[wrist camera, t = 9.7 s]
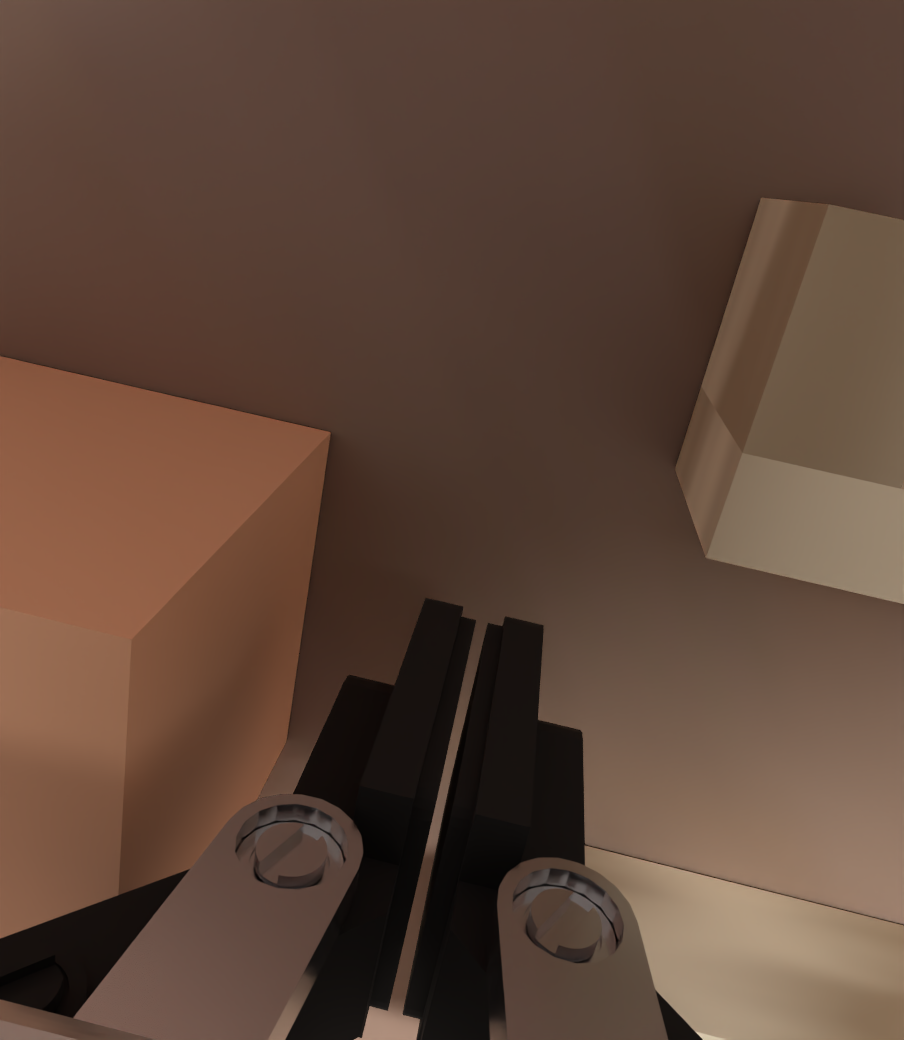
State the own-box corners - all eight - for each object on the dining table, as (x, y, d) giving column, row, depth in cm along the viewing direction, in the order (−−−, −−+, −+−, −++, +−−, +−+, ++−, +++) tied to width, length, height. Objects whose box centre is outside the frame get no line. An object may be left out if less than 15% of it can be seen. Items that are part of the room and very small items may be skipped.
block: (330, 432, 12) (130, 639, 7) (286, 741, 14) (107, 1091, 9) (-62, 342, 13) (-561, 469, 7) (-47, 658, 15) (-419, 946, 9)
